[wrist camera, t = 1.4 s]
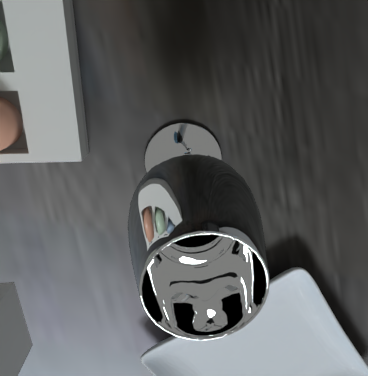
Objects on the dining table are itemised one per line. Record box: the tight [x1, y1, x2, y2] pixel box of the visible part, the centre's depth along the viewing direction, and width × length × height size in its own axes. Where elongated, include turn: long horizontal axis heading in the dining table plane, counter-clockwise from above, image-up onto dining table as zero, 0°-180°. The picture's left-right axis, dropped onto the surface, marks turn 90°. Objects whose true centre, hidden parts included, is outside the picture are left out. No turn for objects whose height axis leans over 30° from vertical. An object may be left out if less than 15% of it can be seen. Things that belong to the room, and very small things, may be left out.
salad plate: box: [141, 267, 368, 376], centre depth 40 cm, size 21×21×3 cm
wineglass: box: [128, 122, 270, 341], centre depth 23 cm, size 8×8×20 cm
